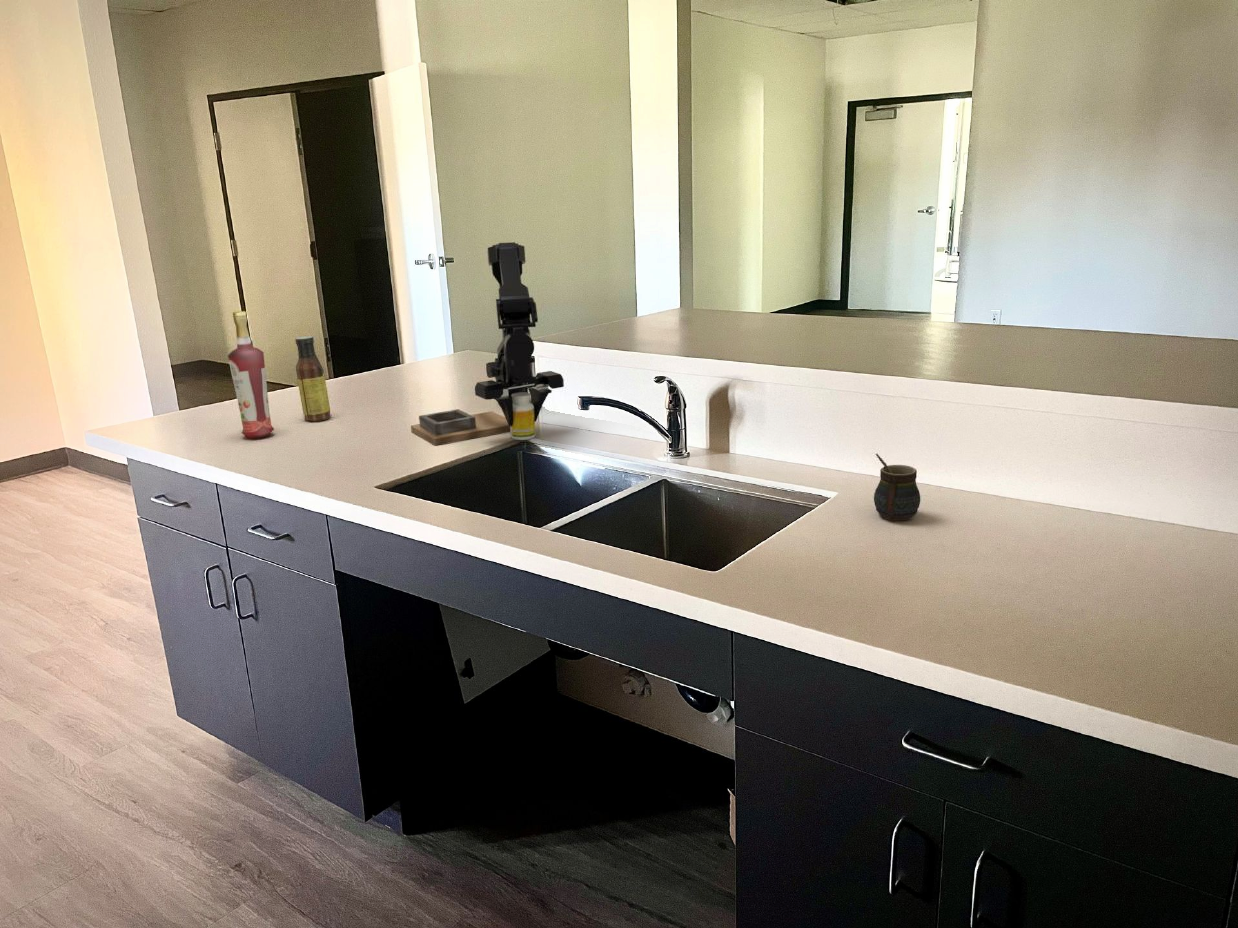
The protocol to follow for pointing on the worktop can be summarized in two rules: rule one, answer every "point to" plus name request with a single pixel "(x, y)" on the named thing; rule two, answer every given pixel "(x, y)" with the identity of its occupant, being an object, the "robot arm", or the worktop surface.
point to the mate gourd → (897, 492)
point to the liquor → (250, 382)
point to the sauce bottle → (311, 382)
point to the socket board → (458, 426)
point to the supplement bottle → (522, 417)
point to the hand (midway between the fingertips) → (522, 423)
